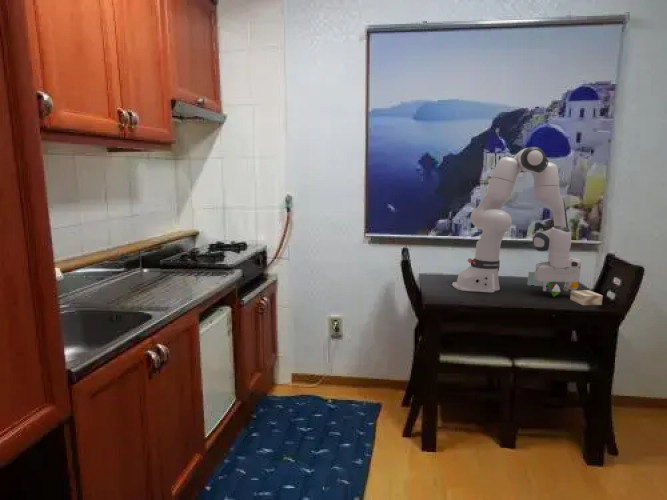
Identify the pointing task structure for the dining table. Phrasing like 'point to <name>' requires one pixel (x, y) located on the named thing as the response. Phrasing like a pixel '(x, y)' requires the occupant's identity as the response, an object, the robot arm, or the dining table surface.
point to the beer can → (574, 284)
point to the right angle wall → (531, 279)
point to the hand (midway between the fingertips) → (555, 290)
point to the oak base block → (586, 297)
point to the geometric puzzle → (553, 288)
